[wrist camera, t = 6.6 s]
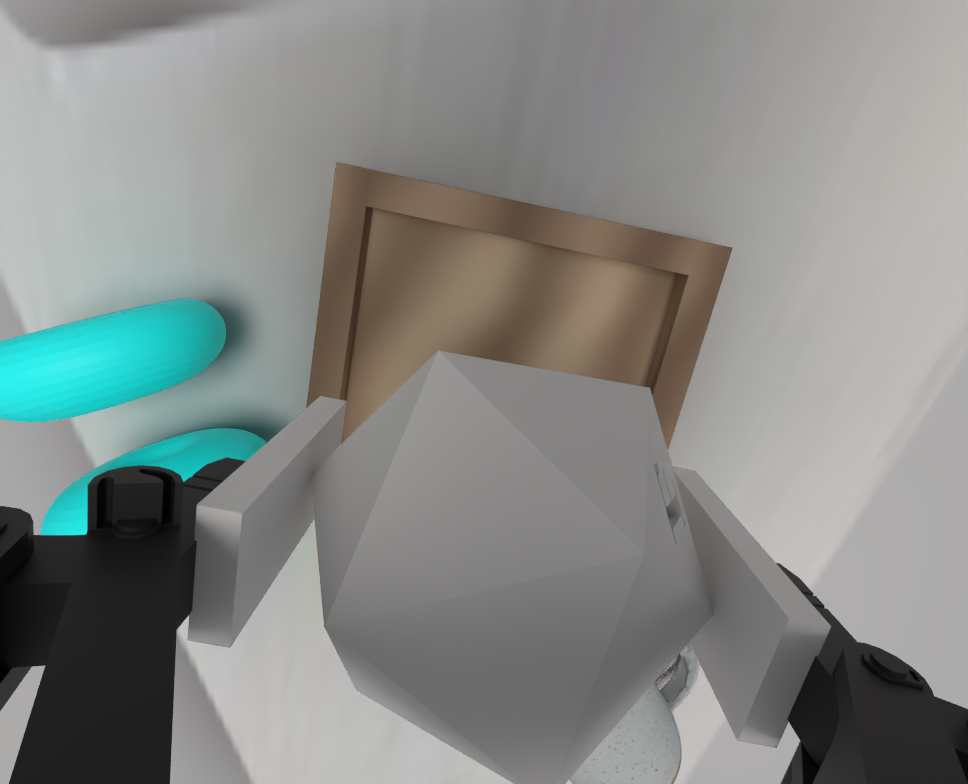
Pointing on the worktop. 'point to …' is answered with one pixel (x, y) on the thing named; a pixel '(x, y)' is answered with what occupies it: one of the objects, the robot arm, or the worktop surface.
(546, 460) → the die
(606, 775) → the ceramic mug
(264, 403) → the worktop surface
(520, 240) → the tray
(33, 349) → the donuts
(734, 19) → the worktop surface
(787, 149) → the worktop surface
